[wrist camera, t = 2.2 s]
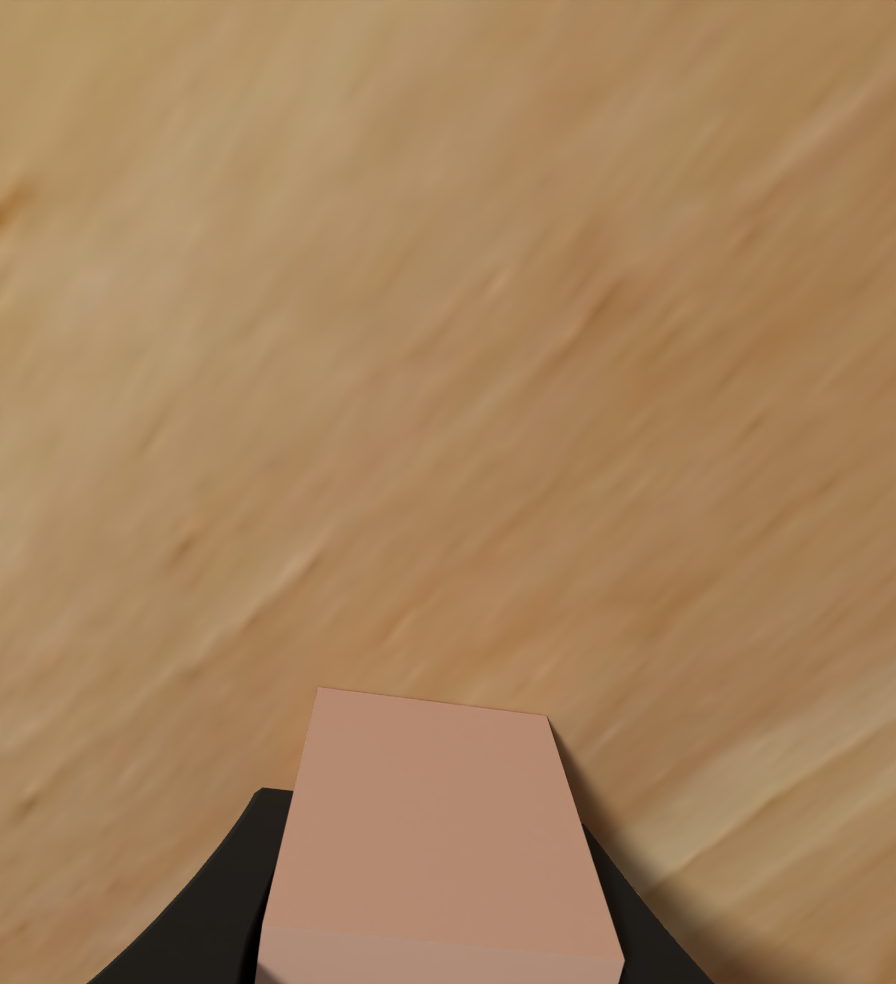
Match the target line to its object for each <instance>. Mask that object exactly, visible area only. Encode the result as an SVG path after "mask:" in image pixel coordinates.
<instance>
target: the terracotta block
mask: <svg viewBox="0 0 896 984" xmlns="http://www.w3.org/2000/svg"><path fill="white" fill-rule="evenodd" d="M624 961H625V960H624V957H623V953H622V950H621V947H620V944H619V941H618V938H617V935H616V932H615V928H614V925H613V922H612V919H611V916H610V913H609V910H608V907H607V903H606V900H605V897H604V894H603V891H602V888H601V885H600V882H599V878H598V875H597V872H596V869H595V866H594V863H593V860H592V857H591V853H590V850H589V847H588V844H587V841H586V838H585V835H584V832H583V829H582V825H581V822H580V819H579V816H578V813H577V810H576V807H575V804H574V800H573V797H572V794H571V791H570V788H569V785H568V782H567V779H566V775H565V772H564V769H563V766H562V763H561V760H560V757H559V754H558V750H557V747H556V744H555V741H554V738H553V735H552V732H551V729H550V725H549V722H548V719H547V716H542V715H534V714H526V713H519V712H511V711H503V710H495V709H487V708H479V707H471V706H463V705H455V704H447V703H439V702H432V701H424V700H416V699H408V698H400V697H392V696H384V695H376V694H368V693H360V692H352V691H345V690H337V689H329V688H321V687H318V690H317V694H316V699H315V703H314V707H313V711H312V716H311V720H310V724H309V728H308V733H307V737H306V741H305V746H304V750H303V754H302V758H301V763H300V767H299V771H298V775H297V780H296V784H295V788H294V792H293V797H292V801H291V805H290V809H289V814H288V818H287V822H286V826H285V831H284V835H283V839H282V843H281V848H280V852H279V856H278V860H277V865H276V869H275V873H274V877H273V882H272V886H271V890H270V894H269V899H268V903H267V907H266V911H265V916H264V920H263V924H262V931H261V939H260V947H259V954H258V962H257V970H256V977H255V984H618V983H619V979H620V975H621V972H622V968H623V965H624Z"/></svg>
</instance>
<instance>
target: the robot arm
mask: <svg viewBox="0 0 896 984" xmlns="http://www.w3.org/2000/svg"><path fill="white" fill-rule="evenodd" d="M293 792H294V791H288V790H280V789H271V788H261V789H260V790H258V791H257V792H256V793H254V795H253V797H252V799H251V801H250V802H249V804H248V806H247V807H246V809H245V810H244V812H243V813H242V815H241V816H240V818H239V819H238V821H237V822H236V824H235V825H234V826H233V828H232V829H231V831H230V832H229V833H228V835H227V836H226V837H225V839H224V840H223V841H222V843H221V844H220V845H219V847H218V848H217V849H216V850H215V851H214V853H213V854H212V855H211V856H210V858H209V859H208V860H207V861H206V863H205V864H204V865H203V866H202V868H201V869H200V870H199V871H198V872H197V874H196V875H195V876H194V877H193V878H192V880H191V881H190V882H189V883H188V884H187V885H186V886H185V888H184V889H183V890H182V891H181V892H180V893H179V894H178V895H177V896H176V897H175V898H174V900H173V901H172V902H171V903H170V904H169V905H168V906H167V907H166V908H165V909H164V910H163V912H162V913H161V914H160V915H159V916H158V917H157V918H156V919H155V920H154V921H153V922H152V923H151V924H150V925H149V926H148V927H147V928H146V929H145V930H144V931H143V932H142V933H141V934H140V935H139V936H138V937H137V938H136V939H135V940H134V941H133V942H132V943H131V944H130V945H129V946H128V947H127V948H126V949H125V950H124V951H123V952H122V953H121V954H119V955H118V956H117V957H116V958H115V959H114V960H113V961H112V962H111V963H110V964H109V965H108V966H107V967H105V968H104V969H103V970H102V971H101V972H100V973H99V974H98V975H96V976H95V977H94V978H93V979H92V980H91V981H89V982H88V983H87V984H255V977H256V970H257V962H258V954H259V947H260V939H261V931H262V924H263V920H264V916H265V911H266V907H267V903H268V899H269V894H270V890H271V886H272V882H273V877H274V873H275V869H276V865H277V860H278V856H279V852H280V848H281V843H282V839H283V835H284V831H285V826H286V822H287V818H288V814H289V809H290V805H291V801H292V797H293ZM581 825H582V829H583V832H584V835H585V838H586V841H587V844H588V847H589V850H590V853H591V857H592V860H593V863H594V866H595V869H596V872H597V875H598V878H599V882H600V885H601V888H602V891H603V894H604V897H605V900H606V903H607V907H608V910H609V913H610V916H611V919H612V922H613V925H614V928H615V932H616V935H617V938H618V941H619V944H620V947H621V950H622V953H623V957H624V960H625V961H624V965H623V968H622V972H621V975H620V979H619V983H618V984H714V983H713V982H712V981H711V980H710V979H709V978H708V976H707V975H706V974H705V973H704V972H703V971H702V970H701V969H700V968H699V966H698V965H697V964H696V963H695V962H694V961H693V960H692V959H691V958H690V956H689V955H688V954H687V953H686V952H685V951H684V950H683V949H682V948H681V947H680V945H679V944H678V943H677V942H676V941H675V939H674V938H673V937H672V936H671V935H670V934H669V932H668V931H667V930H666V929H665V928H664V927H663V925H662V924H661V923H660V922H659V920H658V919H657V918H656V917H655V916H654V914H653V913H652V912H651V911H650V909H649V908H648V907H647V906H646V904H645V903H644V902H643V901H642V899H641V898H640V897H639V896H638V894H637V893H636V892H635V891H634V889H633V888H632V887H631V885H630V884H629V883H628V882H627V880H626V879H625V878H624V876H623V875H622V874H621V872H620V871H619V870H618V868H617V867H616V866H615V865H614V863H613V862H612V861H611V859H610V858H609V857H608V855H607V854H606V853H605V851H604V850H603V849H602V847H601V846H600V845H599V843H598V842H597V841H596V839H595V838H594V837H593V835H592V834H591V833H590V831H589V830H588V829H587V828H586V826H585V825H584V824H581Z"/></svg>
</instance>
